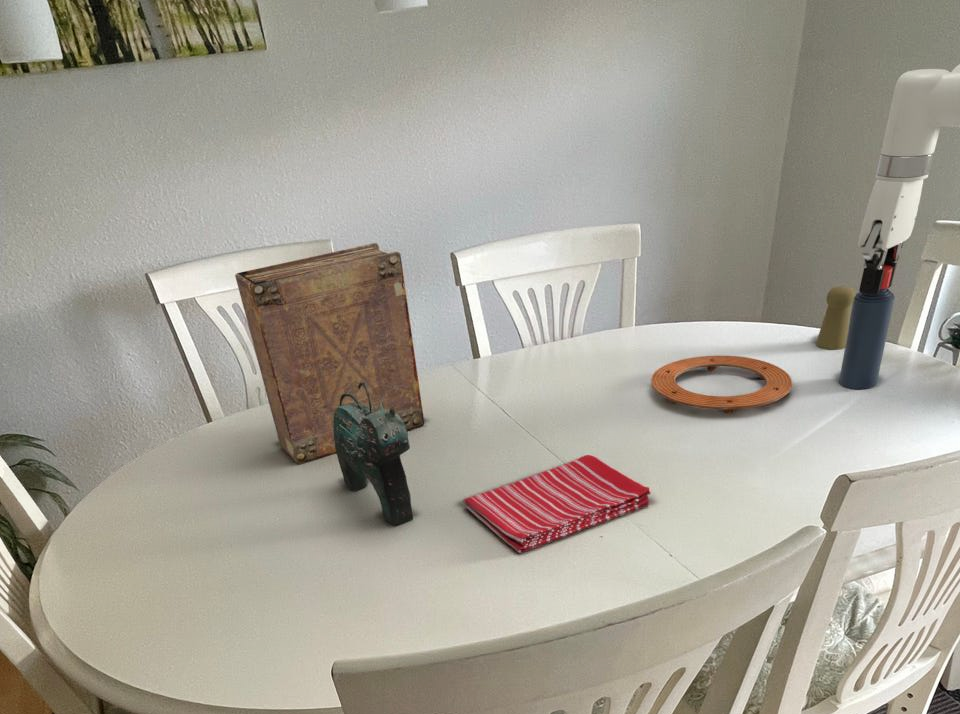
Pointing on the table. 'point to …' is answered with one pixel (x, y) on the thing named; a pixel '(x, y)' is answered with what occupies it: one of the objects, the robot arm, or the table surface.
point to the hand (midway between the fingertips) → (875, 288)
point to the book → (331, 342)
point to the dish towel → (557, 502)
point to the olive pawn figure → (836, 318)
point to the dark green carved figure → (374, 454)
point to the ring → (771, 392)
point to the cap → (886, 276)
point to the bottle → (866, 339)
